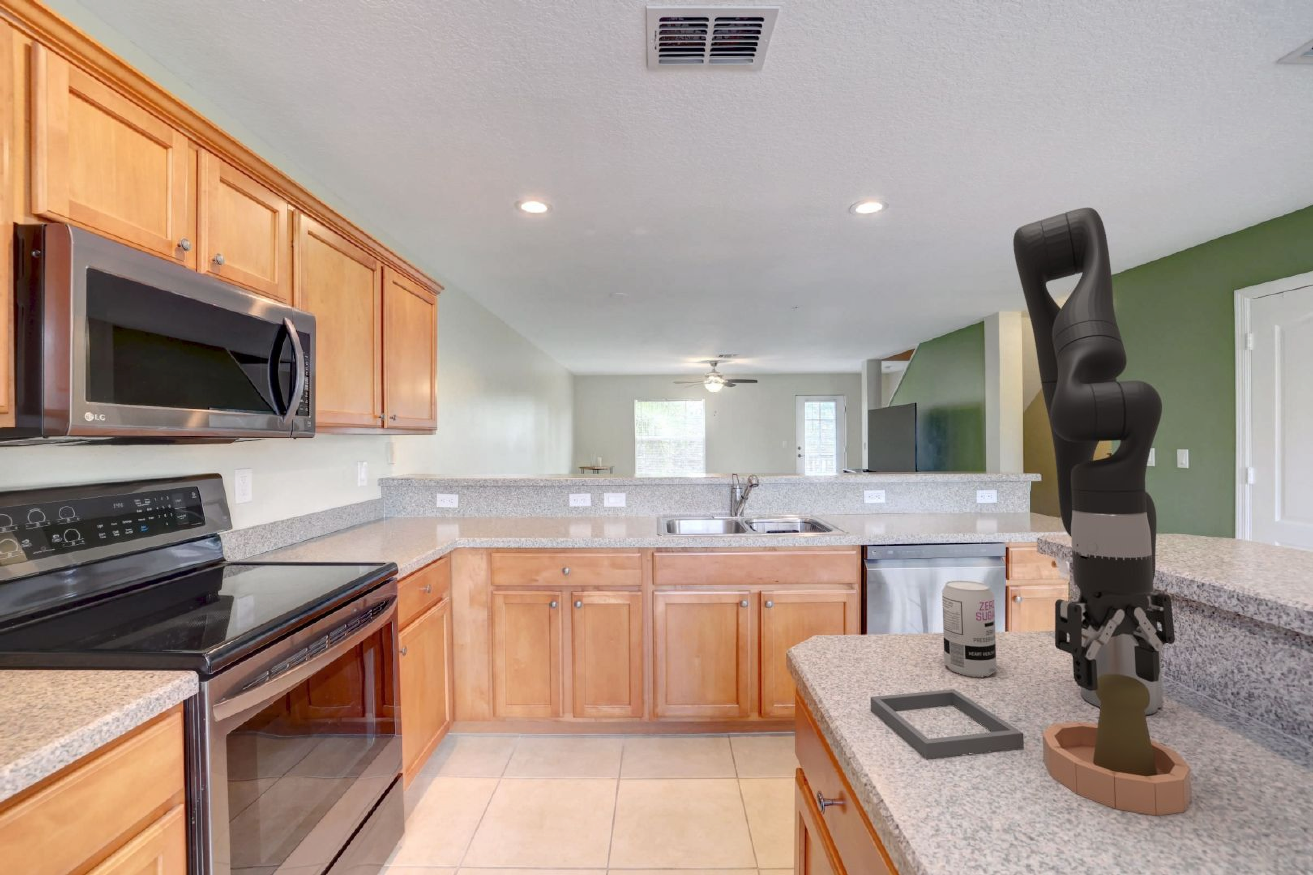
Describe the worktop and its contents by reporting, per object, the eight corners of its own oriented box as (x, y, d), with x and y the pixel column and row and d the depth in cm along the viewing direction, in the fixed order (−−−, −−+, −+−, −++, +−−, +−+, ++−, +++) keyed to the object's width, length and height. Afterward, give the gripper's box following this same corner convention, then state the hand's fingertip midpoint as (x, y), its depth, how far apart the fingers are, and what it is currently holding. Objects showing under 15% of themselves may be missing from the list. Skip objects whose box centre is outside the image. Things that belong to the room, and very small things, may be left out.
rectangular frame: (954, 701, 90) (953, 688, 90) (1023, 748, 76) (1023, 732, 76) (870, 709, 88) (870, 696, 88) (926, 759, 74) (926, 743, 74)
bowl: (1110, 744, 76) (1109, 717, 76) (1222, 806, 63) (1221, 774, 63) (1019, 754, 74) (1018, 727, 74) (1116, 821, 61) (1115, 787, 61)
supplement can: (948, 657, 108) (945, 577, 108) (999, 666, 103) (996, 583, 103) (940, 672, 101) (937, 587, 102) (994, 682, 97) (991, 593, 97)
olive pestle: (1169, 787, 65) (1165, 690, 65) (1106, 780, 67) (1103, 685, 67) (1141, 759, 71) (1137, 669, 71) (1084, 753, 73) (1081, 665, 73)
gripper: (1129, 539, 74) (1136, 665, 74) (1033, 547, 71) (1039, 678, 71) (1193, 549, 66) (1200, 689, 66) (1087, 559, 64) (1095, 705, 64)
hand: (1117, 683), depth 69 cm, fingers open, 8 cm apart
